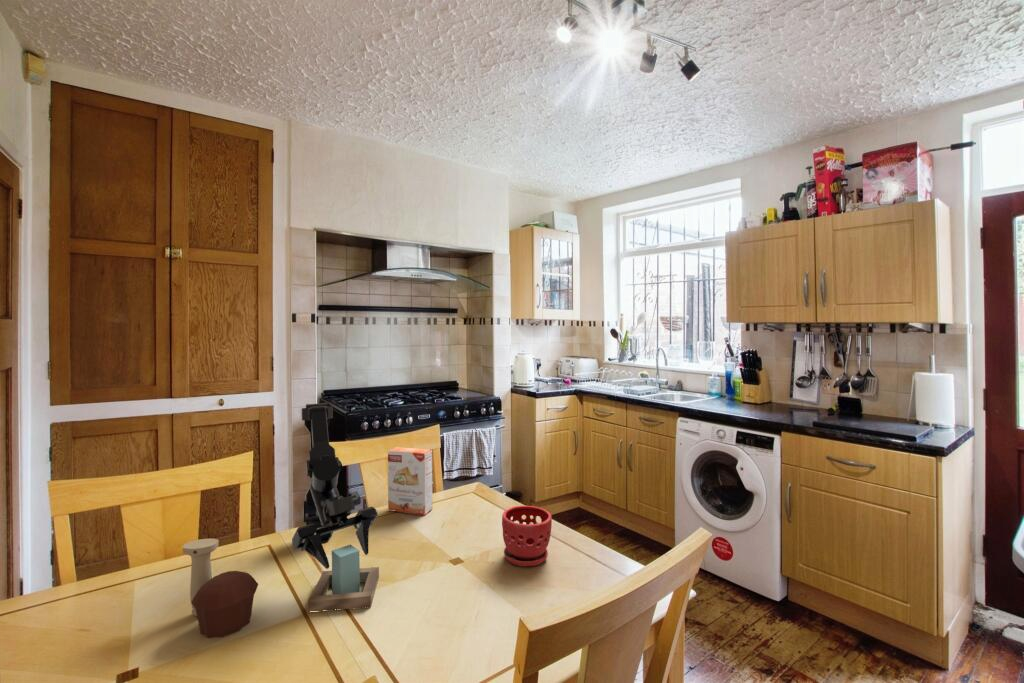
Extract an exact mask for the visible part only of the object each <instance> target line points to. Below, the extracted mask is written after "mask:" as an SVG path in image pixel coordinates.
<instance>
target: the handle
mask: <svg viewBox="0 0 1024 683" xmlns="http://www.w3.org/2000/svg"><path fill="white" fill-rule="evenodd" d="M219 542H220V541H219V539H218V538H202V539H201V538H200V539H196V540H190V541H188V542H187V543H185V544H183V545H182V553H183V554H184V555H187V556H190V558H191V570H190V571H191V572H190V585H189V590H190V591H189V592H190V593H189V596H190V597H189V598H190V604H191V609H192V610H191V613H192V616H193V617H196V618H197V613H196V609H195V608H194V606H193V604H192V603H191V602H192V600H193V598H194V597H195V595H196V593H197V592H198V590H199V589H200V588H201V586H202V585H203V584H205V583H206V582H207V581H209V580H210V579H212V578H213V575H212V563H211V562H212V560H211V554H212V553H213V552H214V551H215V550H217V548H218V547H219V545H220V544H219Z"/></svg>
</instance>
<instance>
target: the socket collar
mask: <svg viewBox="0 0 1024 683" xmlns="http://www.w3.org/2000/svg"><path fill="white" fill-rule="evenodd" d="M379 578H380V567H379V566H375V567H362V568H361V567H360V582H364V583H365V584H364V587H363V590H362V591H360V592H356V593H344V594H327V593H328V591H327V590H329V589H330V587H331V586H332V570H324V571H322V573H321V575H320V577H319V579H318V581H317V583H316V585H315V587H314V589H313V590H312V592H311V594H310V596H309V598H308V600H307V613H308V612H310V611H323V610H335V609H336V610H337V609H349V610H354V609H353V608H360V609H369V607H372V605H373V600H374V597H375V593H376V590H377V586H378V582H379ZM329 586H330V587H329ZM328 588H329V589H328ZM326 592H327V593H326ZM365 607H366V608H365ZM367 607H368V608H367Z"/></svg>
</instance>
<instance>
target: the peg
mask: <svg viewBox="0 0 1024 683" xmlns="http://www.w3.org/2000/svg"><path fill="white" fill-rule="evenodd" d="M360 565H361V564H360V550H359V549H358V548H356V546H353V545H352V544H347V545H345V546H341V547H339V548H335V549H332V550H331V571H332V585H331V593H332V594H344V593H356V592H361V590H360V589H361V585H360V584H361V583H360V568H361V567H360ZM332 594H331V595H332Z"/></svg>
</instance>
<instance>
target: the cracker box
mask: <svg viewBox="0 0 1024 683" xmlns="http://www.w3.org/2000/svg"><path fill="white" fill-rule="evenodd" d="M387 482H388V483H387V498H388V500H387V505H388V506H387V507H388V508H387V509H389V510H395V511H399V512H398V513H402V512H405V513H404V514H410V513H413V514H412V515H417V514H421V515H420V516H426V515H427V514H429V513H430V512H431V511H432V510H433V449H427V448H414V447H401V446H396V447H393V448H391V449H389V450H387ZM430 510H431V511H430ZM429 511H430V512H429Z"/></svg>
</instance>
